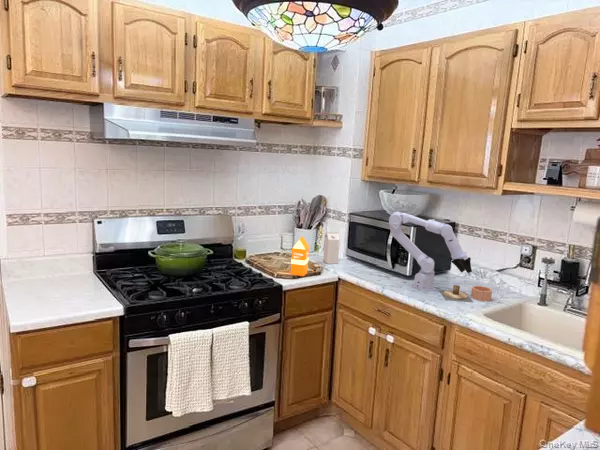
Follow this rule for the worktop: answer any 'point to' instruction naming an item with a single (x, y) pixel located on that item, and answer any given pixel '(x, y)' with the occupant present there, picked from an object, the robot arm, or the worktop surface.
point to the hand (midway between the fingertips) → (466, 271)
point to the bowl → (481, 293)
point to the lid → (455, 293)
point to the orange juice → (300, 258)
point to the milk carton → (331, 248)
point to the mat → (455, 299)
